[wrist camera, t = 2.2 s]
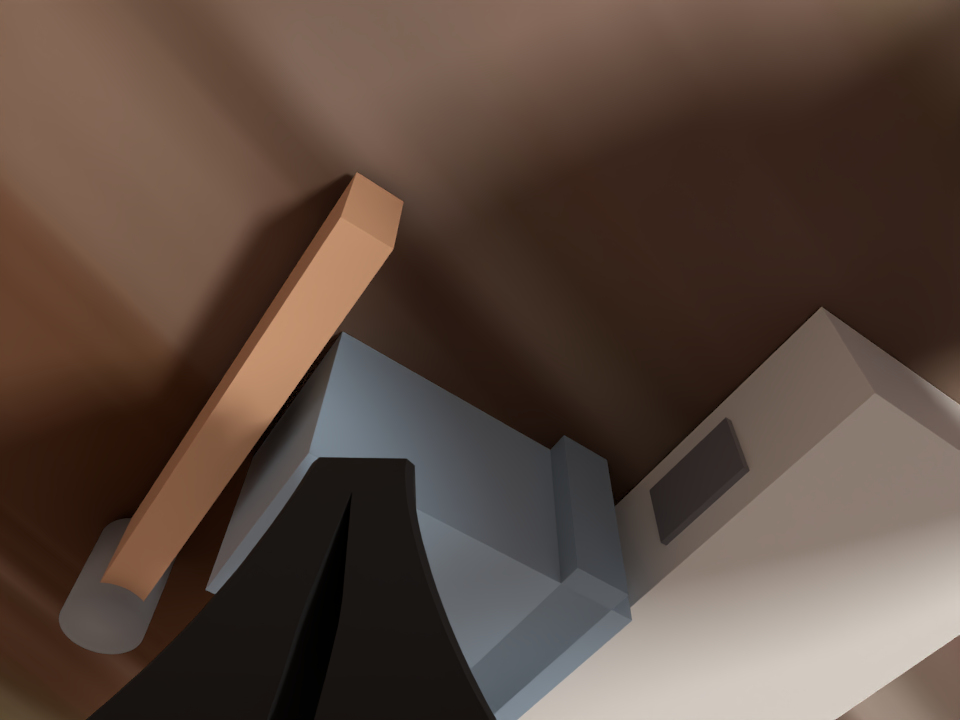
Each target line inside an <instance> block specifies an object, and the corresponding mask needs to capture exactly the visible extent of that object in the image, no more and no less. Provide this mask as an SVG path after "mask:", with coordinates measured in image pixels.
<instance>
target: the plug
mask: <svg viewBox="0 0 960 720" xmlns="http://www.w3.org/2000/svg"><path fill="white" fill-rule="evenodd" d="M319 457H347V458H407V459H408V460H409V461H410V462H412V463H413V464H414V465H415V484H416V511H417V517H418V522H419V527H420V532H421V536H422V540H423V544H424V547H425V551H426V554H427V558H428V561H429V565H430V568H431V572H432V575H433V578H434V581H435V584H436V587H437V590H438V593H439V596H440V598H441V601H442V604H443V606H444V609H445V612H446V614H447V617H448V620H449V622H450V625H451V627H452V629H453V632H454V634H455V637H456V639H457V641H458V644H459V646H460V648H461V650H462V653H463V655H464V657H465V659H466V661H467V663H468V665H469V668H470V670H471V672H472V674H473V676H474V678H475V680H476V682H477V684H478V686H479V688H480V690H481V692H482V694H483V696H484V698H485V700H486V702H487V703H488V705H489V707H490V709H491V711H492V712H493V714H494V716H495V718H496V719H497V720H518V719H519V718H520V717H521V716H522V715H523V714H525V713H526V712H527V711H528V710H529V709H530V708H531V707H533V706H534V705H535V704H536V703H537V702H538V701H540V700H541V699H542V698H543V697H544V696H545V695H547V694H548V693H549V692H550V691H551V690H552V689H554V688H555V687H556V686H557V685H558V684H559V683H560V682H562V681H563V680H564V679H565V678H566V677H567V676H569V675H570V674H571V673H572V672H573V671H574V670H576V669H577V668H578V667H579V666H580V665H581V664H582V663H584V662H585V661H586V660H587V659H588V658H589V657H591V656H592V655H593V654H594V653H595V652H596V651H598V650H599V649H600V648H601V647H602V646H603V645H604V644H606V643H607V642H608V641H609V640H610V639H611V638H613V637H614V636H615V635H616V634H617V633H618V632H620V631H621V630H622V629H623V628H624V627H625V626H626V625H628V624H629V623H630V622H631V621H632V616H631V610H630V604H629V598H628V595H629V593H628V587H627V581H626V574H625V568H624V562H623V556H622V550H621V544H620V537H619V531H618V525H617V519H616V513H615V507H614V500H613V494H612V488H611V482H610V476H609V470H608V463H607V460H606V459H604V458H603V457H601V456H599V455H597V454H596V453H594V452H592V451H591V450H589V449H587V448H585V447H584V446H582V445H580V444H579V443H577V442H575V441H573V440H572V439H570V438H568V437H566V436H565V435H564V436H563V437H562V438H561V439H560V440H559V441H558V442H557V443H556V444H555V445H554V446H553V448H552V449H551V450H550V449H548V448H546V447H544V446H543V445H541V444H539V443H537V442H536V441H534V440H532V439H530V438H529V437H527V436H525V435H523V434H522V433H520V432H518V431H516V430H515V429H513V428H511V427H509V426H508V425H506V424H504V423H502V422H501V421H499V420H497V419H495V418H494V417H492V416H490V415H488V414H487V413H485V412H483V411H481V410H480V409H478V408H476V407H474V406H473V405H471V404H469V403H467V402H466V401H464V400H462V399H460V398H459V397H457V396H455V395H453V394H452V393H450V392H448V391H446V390H445V389H443V388H441V387H439V386H438V385H436V384H434V383H432V382H431V381H429V380H427V379H425V378H424V377H422V376H420V375H418V374H417V373H415V372H413V371H411V370H409V369H408V368H406V367H404V366H402V365H401V364H399V363H397V362H395V361H394V360H392V359H390V358H388V357H387V356H385V355H383V354H381V353H380V352H378V351H376V350H374V349H373V348H371V347H369V346H367V345H366V344H364V343H362V342H360V341H359V340H357V339H355V338H353V337H352V336H350V335H348V334H346V333H345V332H343V331H342V333H341V334H340V336H339V337H338V338H337V340H336V341H335V343H334V344H333V345H332V347H331V348H330V350H329V351H328V352H327V354H326V355H325V357H324V358H323V359H322V361H321V362H320V364H319V365H318V366H317V368H316V369H315V371H314V372H313V373H312V375H311V376H310V378H309V379H308V381H307V382H306V383H305V385H304V386H303V388H302V389H301V390H300V392H299V393H298V395H297V396H296V397H295V399H294V400H293V402H292V403H291V404H290V406H289V407H288V409H287V410H286V411H285V413H284V414H283V416H282V417H281V418H280V420H279V421H278V423H277V424H276V425H275V427H274V428H273V430H272V431H271V432H270V434H269V435H268V437H267V438H266V439H265V441H264V442H263V444H262V445H261V446H260V448H259V449H258V451H257V452H256V453H255V455H254V456H253V458H252V461H251V464H250V467H249V470H248V472H247V475H246V478H245V481H244V483H243V486H242V489H241V492H240V495H239V497H238V500H237V503H236V506H235V509H234V511H233V514H232V517H231V520H230V522H229V525H228V528H227V531H226V534H225V536H224V539H223V542H222V545H221V548H220V550H219V553H218V556H217V559H216V562H215V564H214V567H213V570H212V573H211V575H210V578H209V581H208V584H207V587H206V589H205V590H207V591H209V592H211V593H213V594H216V593H217V592H218V591H219V589H220V588H221V587H222V586H223V585H224V584H225V582H226V581H227V580H228V579H229V578H230V577H231V575H232V574H233V573H234V572H235V571H236V570H237V568H238V567H239V566H240V565H241V563H242V562H243V561H244V560H245V558H246V557H247V556H248V554H249V553H250V552H251V550H252V549H253V548H254V546H255V545H256V544H257V543H258V541H259V540H260V539H261V537H262V536H263V535H264V533H265V532H266V531H267V529H268V528H269V527H270V525H271V524H272V523H273V521H274V520H275V518H276V517H277V516H278V514H279V513H280V511H281V510H282V509H283V507H284V506H285V504H286V503H287V501H288V500H289V498H290V497H291V495H292V494H293V492H294V491H295V489H296V488H297V486H298V485H299V483H300V482H301V480H302V479H303V477H304V475H305V474H306V472H307V471H308V469H309V467H310V466H311V464H312V463H313V462H314V461H315V460H316V459H318V458H319Z"/></svg>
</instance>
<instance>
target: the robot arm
mask: <svg viewBox="0 0 960 720" xmlns="http://www.w3.org/2000/svg"><path fill="white" fill-rule="evenodd" d="M86 720H497V719H496V718H495V716H494V714H493V712H492V711H491V709H490V707H489V705H488V703H487V702H486V700H485V698H484V696H483V694H482V692H481V690H480V688H479V686H478V684H477V682H476V680H475V678H474V676H473V674H472V672H471V670H470V668H469V665H468V663H467V661H466V659H465V657H464V655H463V653H462V650H461V648H460V646H459V644H458V641H457V639H456V637H455V634H454V632H453V629H452V627H451V625H450V622H449V620H448V617H447V614H446V612H445V609H444V606H443V604H442V601H441V598H440V596H439V593H438V590H437V587H436V584H435V581H434V578H433V575H432V572H431V568H430V565H429V561H428V558H427V554H426V551H425V547H424V544H423V540H422V536H421V532H420V527H419V522H418V517H417V511H416V484H415V465H414V464H413V463H412V462H410V461H409V460H408V459H407V458H347V457H319V458H318V459H316V460H315V461H314V462H313V463H312V464H311V466H310V467H309V469H308V471H307V472H306V474H305V475H304V477H303V479H302V480H301V482H300V483H299V485H298V486H297V488H296V489H295V491H294V492H293V494H292V495H291V497H290V498H289V500H288V501H287V503H286V504H285V506H284V507H283V509H282V510H281V511H280V513H279V514H278V516H277V517H276V518H275V520H274V521H273V523H272V524H271V525H270V527H269V528H268V529H267V531H266V532H265V533H264V535H263V536H262V537H261V539H260V540H259V541H258V543H257V544H256V545H255V546H254V548H253V549H252V550H251V552H250V553H249V554H248V556H247V557H246V558H245V560H244V561H243V562H242V563H241V565H240V566H239V567H238V568H237V570H236V571H235V572H234V573H233V574H232V575H231V577H230V578H229V579H228V580H227V581H226V582H225V584H224V585H223V586H222V587H221V588H220V589H219V591H218V592H217V593H216V594H215V595H214V596H213V598H212V599H211V600H210V601H209V602H208V603H207V605H206V606H205V607H204V608H203V609H202V610H201V611H200V612H199V614H198V615H197V616H196V617H195V618H194V619H193V620H192V621H191V622H190V623H189V624H188V625H187V626H186V627H185V629H184V630H183V631H182V632H181V633H180V634H179V635H178V636H177V637H176V638H175V639H174V640H173V641H172V642H171V643H170V644H169V645H168V646H167V647H166V648H165V649H164V650H163V651H162V652H161V653H160V654H159V655H158V656H157V657H156V658H155V659H154V660H153V661H152V662H151V663H149V664H148V665H147V666H146V667H145V668H144V669H143V670H142V671H141V672H140V673H139V674H137V675H136V676H135V677H134V678H133V679H132V680H131V681H130V682H129V683H127V684H126V685H125V686H124V687H123V688H122V689H121V690H120V691H119V692H117V693H116V694H115V695H114V696H113V697H112V698H111V699H110V700H109V701H107V702H106V703H105V704H104V705H103V706H102V707H100V708H99V709H98V710H97V711H96V712H94V713H93V714H92V715H91V716H90V717H89V718H87V719H86Z"/></svg>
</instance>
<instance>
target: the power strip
mask: <svg viewBox="0 0 960 720" xmlns="http://www.w3.org/2000/svg"><path fill="white" fill-rule="evenodd" d="M615 513H616V519H617V525H618V531H619V537H620V544H621V550H622V556H623V562H624V568H625V574H626V581H627V587H628V593H629V595H628V598H629V604H630V610H631V616H632V621H631V622H630V623H629V624H628V625H626V626H625V627H624V628H623V629H622V630H621V631H620V632H618V633H617V634H616V635H615V636H614V637H613V638H611V639H610V640H609V641H608V642H607V643H606V644H604V645H603V646H602V647H601V648H600V649H599V650H598V651H596V652H595V653H594V654H593V655H592V656H591V657H589V658H588V659H587V660H586V661H585V662H584V663H582V664H581V665H580V666H579V667H578V668H577V669H576V670H574V671H573V672H572V673H571V674H570V675H569V676H567V677H566V678H565V679H564V680H563V681H562V682H560V683H559V684H558V685H557V686H556V687H555V688H554V689H552V690H551V691H550V692H549V693H548V694H547V695H545V696H544V697H543V698H542V699H541V700H540V701H538V702H537V703H536V704H535V705H534V706H533V707H531V708H530V709H529V710H528V711H527V712H526V713H525V714H523V715H522V716H521V717H520V718H519V719H518V720H835V719H837V718H838V717H840V716H841V715H843V714H844V713H846V712H847V711H849V710H850V709H851V708H853V707H854V706H856V705H857V704H859V703H860V702H862V701H863V700H865V699H866V698H868V697H869V696H870V695H872V694H873V693H875V692H876V691H878V690H879V689H881V688H882V687H884V686H885V685H887V684H888V683H890V682H891V681H892V680H894V679H895V678H897V677H898V676H900V675H901V674H903V673H904V672H906V671H907V670H909V669H910V668H911V667H913V666H914V665H916V664H917V663H919V662H920V661H922V660H923V659H925V658H926V657H928V656H929V655H930V654H932V653H933V652H935V651H936V650H938V649H939V648H941V647H942V646H944V645H945V644H947V643H948V642H950V641H951V640H952V639H954V638H955V637H957V636H958V635H960V405H959V404H958V403H957V402H955V401H954V400H952V399H951V398H950V397H948V396H947V395H945V394H944V393H943V392H941V391H940V390H938V389H937V388H936V387H934V386H933V385H931V384H930V383H928V382H927V381H926V380H924V379H923V378H921V377H920V376H919V375H917V374H916V373H914V372H913V371H912V370H910V369H909V368H907V367H906V366H905V365H903V364H902V363H900V362H899V361H897V360H896V359H895V358H893V357H892V356H890V355H889V354H888V353H886V352H885V351H883V350H882V349H881V348H879V347H878V346H876V345H875V344H874V343H872V342H871V341H869V340H868V339H866V338H865V337H864V336H862V335H861V334H859V333H858V332H857V331H855V330H854V329H852V328H851V327H850V326H848V325H847V324H845V323H844V322H842V321H841V320H840V319H838V318H837V317H835V316H834V315H833V314H831V313H830V312H828V311H827V310H826V309H824V308H823V307H821V308H820V309H819V310H818V311H817V312H816V313H815V314H813V315H812V316H811V317H810V318H809V319H808V320H807V321H806V322H805V323H804V324H803V325H802V326H801V327H800V328H799V329H798V330H797V331H796V332H795V333H794V334H793V335H792V336H791V337H790V338H789V339H788V340H787V341H786V342H785V343H783V344H782V345H781V346H780V347H779V348H778V349H777V350H776V351H775V352H774V353H773V354H772V355H771V356H770V357H769V358H768V359H767V360H766V361H765V362H764V363H763V364H762V365H761V366H760V367H759V368H758V369H757V370H756V371H755V372H753V373H752V374H751V375H750V376H749V377H748V378H747V379H746V380H745V381H744V382H743V383H742V384H741V385H740V386H739V387H738V388H737V389H736V390H735V391H734V392H733V393H732V394H731V395H730V396H729V397H728V398H727V399H726V400H725V401H723V402H722V403H721V404H720V405H719V406H718V407H717V408H716V409H715V410H714V411H713V412H712V413H711V414H710V415H709V416H708V417H707V418H706V419H705V420H704V421H703V422H702V423H701V424H700V425H699V426H698V427H697V428H696V429H695V430H693V431H692V432H691V433H690V434H689V435H688V436H687V437H686V438H685V439H684V440H683V441H682V442H681V443H680V444H679V445H678V446H677V447H676V448H675V449H674V450H673V451H672V452H671V453H670V454H669V455H668V456H667V457H666V458H665V459H664V460H662V461H661V462H660V463H659V464H658V465H657V466H656V467H655V468H654V469H653V470H652V471H651V472H650V473H649V474H648V475H647V476H646V477H645V478H644V479H643V480H642V481H641V482H640V483H639V484H638V485H637V486H636V487H635V488H634V489H632V490H631V491H630V492H629V493H628V494H627V495H626V496H625V497H624V498H623V499H622V500H621V501H620V502H619V503H618V504H617V505H616V506H615Z"/></svg>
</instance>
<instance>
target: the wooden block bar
mask: <svg viewBox="0 0 960 720" xmlns="http://www.w3.org/2000/svg"><path fill="white" fill-rule="evenodd" d="M402 207H403V201H402V200H400V199H398V198H397V197H395V196H394V195H392V194H391V193H389V192H387V191H386V190H384V189H383V188H381V187H380V186H378V185H376V184H375V183H373V182H372V181H370V180H369V179H367V178H365V177H364V176H362V175H361V174H359V173H358V172H356V174H355V175H354V177H353V179H352V180H351V182H350V183H349V185H348V186H347V188H346V189H345V191H344V192H343V194H342V195H341V197H340V199H339V200H338V202H337V203H336V205H335V206H334V208H333V209H332V211H331V212H330V214H329V215H328V217H327V218H326V220H325V222H324V223H323V225H322V226H321V228H320V229H319V231H318V232H317V234H316V235H315V237H314V238H313V240H312V242H311V243H310V245H309V246H308V248H307V249H306V251H305V252H304V254H303V255H302V257H301V258H300V260H299V262H298V263H297V265H296V266H295V268H294V269H293V271H292V272H291V274H290V275H289V277H288V278H287V280H286V282H285V283H284V285H283V286H282V288H281V289H280V291H279V292H278V294H277V295H276V297H275V298H274V300H273V302H272V303H271V305H270V306H269V308H268V309H267V311H266V312H265V314H264V315H263V317H262V318H261V320H260V321H259V323H258V325H257V326H256V328H255V329H254V331H253V332H252V334H251V335H250V337H249V338H248V340H247V341H246V343H245V345H244V346H243V348H242V349H241V351H240V352H239V354H238V355H237V357H236V358H235V360H234V361H233V363H232V365H231V366H230V368H229V369H228V371H227V372H226V374H225V375H224V377H223V378H222V380H221V381H220V383H219V385H218V386H217V388H216V389H215V391H214V392H213V394H212V395H211V397H210V398H209V400H208V401H207V403H206V405H205V406H204V408H203V409H202V411H201V412H200V414H199V415H198V417H197V418H196V420H195V421H194V423H193V424H192V426H191V428H190V429H189V431H188V432H187V434H186V435H185V437H184V438H183V440H182V441H181V443H180V444H179V446H178V448H177V449H176V451H175V452H174V454H173V455H172V457H171V458H170V460H169V461H168V463H167V464H166V466H165V468H164V469H163V471H162V472H161V474H160V475H159V477H158V478H157V480H156V481H155V483H154V484H153V486H152V488H151V489H150V491H149V492H148V494H147V495H146V497H145V498H144V500H143V501H142V503H141V504H140V506H139V508H138V509H137V511H136V512H135V514H134V515H133V517H132V518H124V519H119V520H116V521H114V522H111V523H110V524H108V525H107V526H106V527H105V528H104V529H103V531H102V533H101V535H100V537H99V539H98V541H97V542H96V544H95V546H94V548H93V550H92V552H91V554H90V556H89V558H88V560H87V562H86V563H85V565H84V567H83V569H82V571H81V573H80V575H79V577H78V579H77V581H76V583H75V585H74V586H73V588H72V590H71V592H70V594H69V596H68V598H67V600H66V602H65V604H64V606H63V607H62V609H61V611H60V614H59V624H60V627H61V629H62V631H63V632H64V633H65V635H66V636H67V637H68V638H69V639H70V640H71V641H73V642H74V643H76V644H77V645H79V646H81V647H83V648H85V649H87V650H90V651H93V652H97V653H102V654H120V653H125V652H128V651H131V650H133V649H135V648H136V647H137V646H138V645H139V644H140V643H141V642H142V640H143V638H144V635H145V633H146V631H147V628H148V626H149V623H150V621H151V618H152V616H153V613H154V611H155V609H156V606H157V604H158V601H159V599H160V596H161V594H162V592H163V589H164V587H165V584H166V582H167V579H168V577H169V574H170V572H171V570H172V567H173V565H174V562H175V560H176V557H177V554H178V552H179V551H180V550H181V548H182V547H183V545H184V544H185V543H186V541H187V540H188V538H189V537H190V536H191V534H192V533H193V531H194V530H195V528H196V527H197V526H198V524H199V523H200V521H201V520H202V519H203V517H204V516H205V514H206V513H207V512H208V510H209V509H210V507H211V506H212V504H213V503H214V502H215V500H216V499H217V497H218V496H219V495H220V493H221V492H222V490H223V489H224V488H225V486H226V485H227V483H228V482H229V480H230V479H231V478H232V476H233V475H234V473H235V472H236V471H237V469H238V468H239V466H240V465H241V464H242V462H243V461H244V459H245V458H246V457H247V455H248V454H249V452H250V451H251V449H252V448H253V447H254V445H255V444H256V442H257V441H258V440H259V438H260V437H261V435H262V434H263V433H264V431H265V430H266V428H267V427H268V425H269V424H270V423H271V421H272V420H273V418H274V417H275V416H276V414H277V413H278V411H279V410H280V409H281V407H282V406H283V404H284V403H285V401H286V400H287V399H288V397H289V396H290V394H291V393H292V392H293V390H294V389H295V387H296V386H297V385H298V383H299V382H300V380H301V379H302V377H303V376H304V375H305V373H306V372H307V370H308V369H309V368H310V366H311V365H312V363H313V362H314V361H315V359H316V358H317V356H318V355H319V353H320V352H321V351H322V349H323V348H324V346H325V345H326V344H327V342H328V341H329V339H330V338H331V337H332V335H333V334H334V332H335V331H336V329H337V328H338V327H339V325H340V324H341V322H342V321H343V320H344V318H345V317H346V315H347V314H348V313H349V311H350V310H351V308H352V307H353V305H354V304H355V303H356V301H357V300H358V298H359V297H360V296H361V294H362V293H363V291H364V290H365V289H366V287H367V286H368V284H369V283H370V281H371V280H372V279H373V277H374V276H375V274H376V273H377V272H378V270H379V269H380V267H381V266H382V265H383V263H384V262H385V260H386V259H387V257H388V256H389V255H390V253H391V252H392V250H393V249H394V244H395V239H396V235H397V230H398V226H399V221H400V216H401V212H402Z"/></svg>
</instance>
